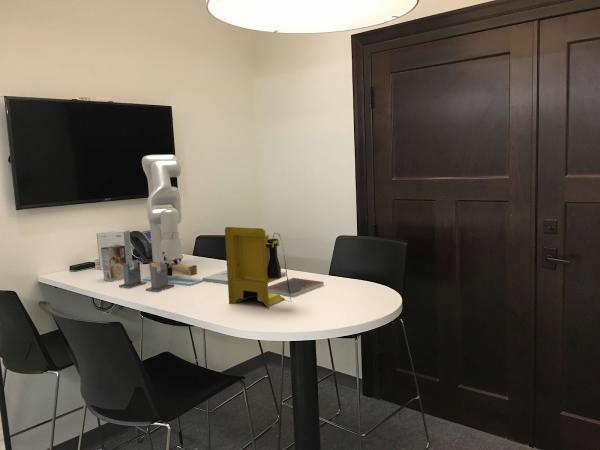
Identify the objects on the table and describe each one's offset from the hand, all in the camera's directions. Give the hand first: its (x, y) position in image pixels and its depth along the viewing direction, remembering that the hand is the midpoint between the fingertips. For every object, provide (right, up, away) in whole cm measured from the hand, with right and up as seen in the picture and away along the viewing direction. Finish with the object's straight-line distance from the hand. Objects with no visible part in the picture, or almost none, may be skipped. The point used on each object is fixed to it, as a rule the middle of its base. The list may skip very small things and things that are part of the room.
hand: (173, 274), depth 235 cm
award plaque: (+34, -3, -1) cm, 34 cm away
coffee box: (-30, -3, +8) cm, 31 cm away
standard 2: (-2, -5, -14) cm, 15 cm away
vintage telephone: (+45, -7, -42) cm, 62 cm away
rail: (0, +1, 0) cm, 1 cm away
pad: (0, -3, 0) cm, 3 cm away
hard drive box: (-40, 0, +36) cm, 53 cm away
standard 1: (-17, -5, -6) cm, 18 cm away
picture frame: (+57, -5, -23) cm, 61 cm away
